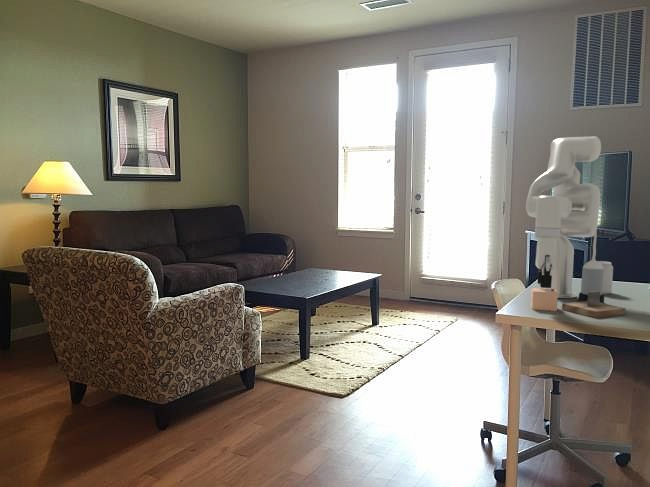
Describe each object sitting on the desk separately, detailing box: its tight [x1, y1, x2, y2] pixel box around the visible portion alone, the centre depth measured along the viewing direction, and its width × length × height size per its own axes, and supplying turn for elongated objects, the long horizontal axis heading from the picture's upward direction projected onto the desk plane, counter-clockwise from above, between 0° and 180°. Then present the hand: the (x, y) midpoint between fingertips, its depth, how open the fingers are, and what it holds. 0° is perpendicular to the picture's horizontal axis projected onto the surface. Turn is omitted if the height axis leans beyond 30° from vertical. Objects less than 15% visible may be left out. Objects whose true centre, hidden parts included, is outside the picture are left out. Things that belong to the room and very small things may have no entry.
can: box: [596, 260, 614, 295], centre depth 212 cm, size 8×8×12 cm
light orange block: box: [530, 287, 559, 312], centre depth 184 cm, size 6×8×7 cm
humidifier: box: [577, 230, 605, 304], centre depth 193 cm, size 8×8×25 cm
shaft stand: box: [561, 291, 626, 319], centre depth 179 cm, size 13×13×7 cm
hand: (544, 285), depth 182 cm, fingers open, 9 cm apart
